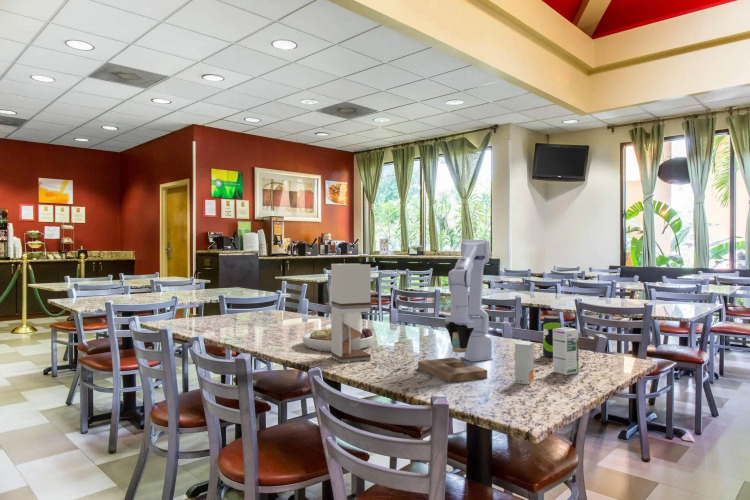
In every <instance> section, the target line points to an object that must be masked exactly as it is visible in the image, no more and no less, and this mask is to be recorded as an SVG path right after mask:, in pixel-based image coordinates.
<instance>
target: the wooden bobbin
mask: <svg viewBox="0 0 750 500" xmlns="http://www.w3.org/2000/svg"><path fill="white" fill-rule="evenodd" d="M451 345H452V352H453V353H465V352H466V348H463V349H461V348H460V343H459V335H458V332H453V337H452V343H451Z"/></svg>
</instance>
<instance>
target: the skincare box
mask: <svg viewBox="0 0 750 500" xmlns="http://www.w3.org/2000/svg"><path fill="white" fill-rule="evenodd" d="M534 344H535V343H534V342H532V341H525V340H520V341H518V342H517V343H514V351H515V352H514V383H515V384H521V385H527V386H529V384H530V383H532V382H533V381H534V352H535V349H534V348H535V347H534Z"/></svg>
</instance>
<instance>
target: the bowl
mask: <svg viewBox="0 0 750 500" xmlns="http://www.w3.org/2000/svg"><path fill="white" fill-rule="evenodd" d="M301 338H302V343H303V344H304V345H305V347H306V348H309V349H311V348H312V349H311V350H314V349H316V350H315V351H319V350H323V351H322V352H330V351H331V328H330V327H329V328H325V329H316V330H311V331H307V332H304V333H303V334H302V337H301ZM374 340H375V333H374V332H372V330H371V329H370V328H367V327H366V328H362V335H361V350H363V348H364V349H366V348H368V347H369V346H371V345H372V344H373V342H374Z"/></svg>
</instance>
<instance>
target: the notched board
mask: <svg viewBox="0 0 750 500" xmlns="http://www.w3.org/2000/svg"><path fill="white" fill-rule="evenodd" d="M464 365H465V362H464V361H463V360H461V359H459V358H456V357H446V358H445V357H444V358H436V359H426V360H425V359H424V360H418V361H417V366H418V367H417V369H418V368H419V370H421V371H422V372H425V373H427V372H428V373H427V374H429V373H430V374H429V375H431V374H432V375H431V376H433V375H434V376H433V377H435V376H436V377H435V378H437V377H438V379H440V380H442V379H443V380H442V381H444V380H445V381H444V382H446V381H447V382H446V383H448V382H451V383H457V382H456V381H459V382H465V381H466V382H467V380H468V381H474V379H476V380H484V379H488V370H487V369H485V368H482V367H480V366H477V365H472V366H464ZM483 378H484V379H483Z"/></svg>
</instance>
